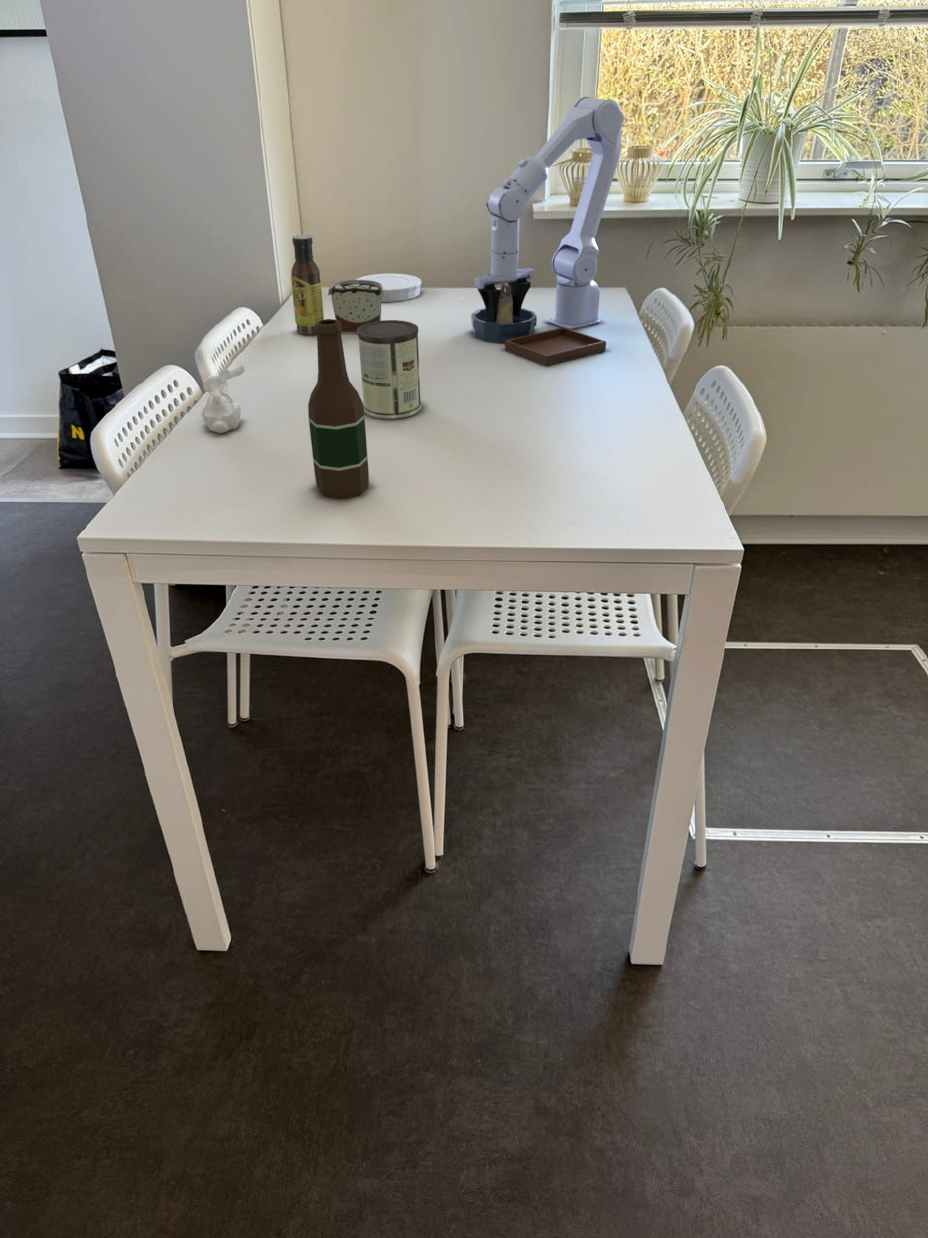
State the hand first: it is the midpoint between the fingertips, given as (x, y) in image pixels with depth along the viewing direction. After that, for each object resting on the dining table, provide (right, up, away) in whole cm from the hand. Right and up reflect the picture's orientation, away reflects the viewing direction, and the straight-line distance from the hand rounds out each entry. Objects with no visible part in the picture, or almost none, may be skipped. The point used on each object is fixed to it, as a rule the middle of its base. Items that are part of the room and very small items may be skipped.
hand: (503, 317), depth 193 cm
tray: (+10, -10, -8) cm, 16 cm away
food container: (-32, -1, +6) cm, 32 cm away
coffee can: (-21, -28, -36) cm, 50 cm away
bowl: (0, -3, +2) cm, 3 cm away
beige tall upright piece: (0, -3, +2) cm, 4 cm away
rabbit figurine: (-49, -32, -41) cm, 71 cm away
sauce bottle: (-43, -2, +4) cm, 43 cm away
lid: (-29, +16, +31) cm, 45 cm away
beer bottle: (-26, -46, -62) cm, 82 cm away
